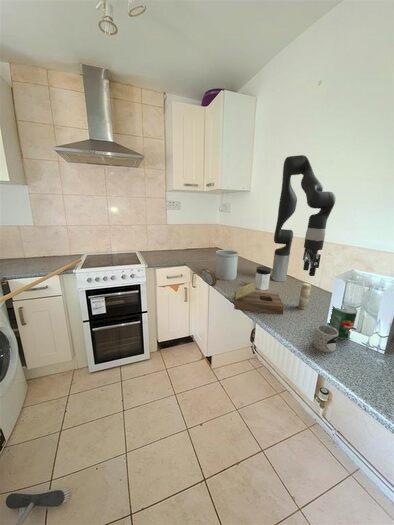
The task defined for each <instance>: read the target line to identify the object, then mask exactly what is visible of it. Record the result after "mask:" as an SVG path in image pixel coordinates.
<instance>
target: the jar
mask: <svg viewBox="0 0 394 525" xmlns="http://www.w3.org/2000/svg"><path fill="white" fill-rule="evenodd" d="M271 274H272V268H270V267H267V266H262V265H261V266H257V267H256V271H255V279H254V280H255V281H254V285H255V289H256V290H257V289H258V290H261V291H263V290H267V291H268V290H269V287H270V278H271Z"/></svg>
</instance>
